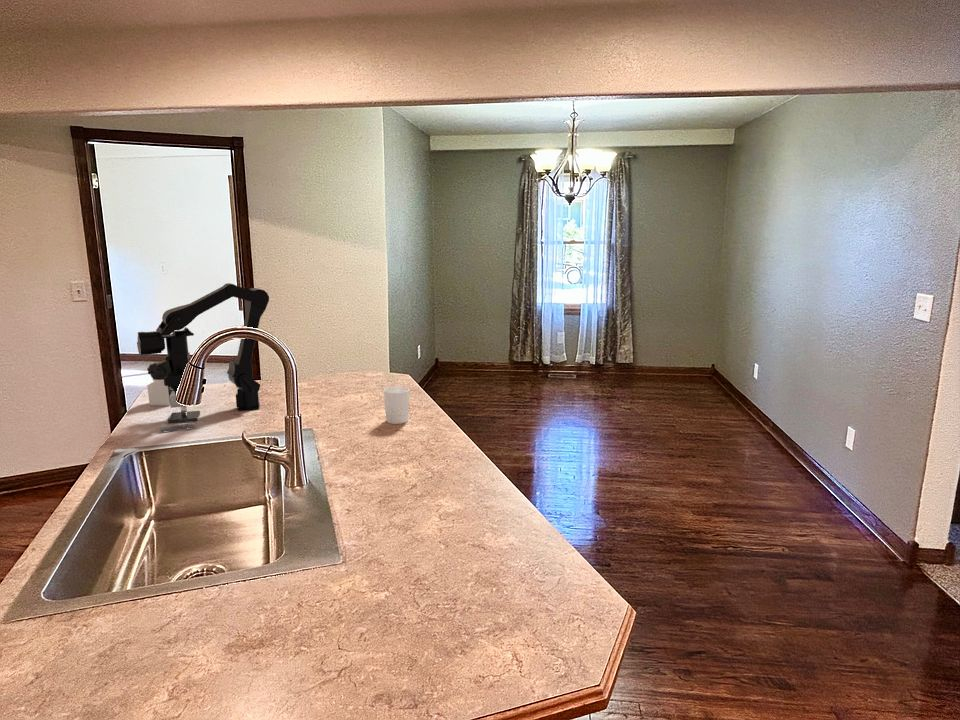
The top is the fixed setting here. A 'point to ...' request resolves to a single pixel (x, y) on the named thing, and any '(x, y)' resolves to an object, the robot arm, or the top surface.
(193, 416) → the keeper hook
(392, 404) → the white cup
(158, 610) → the top surface
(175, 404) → the end link
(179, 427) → the chain tail
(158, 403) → the medicine bottle
